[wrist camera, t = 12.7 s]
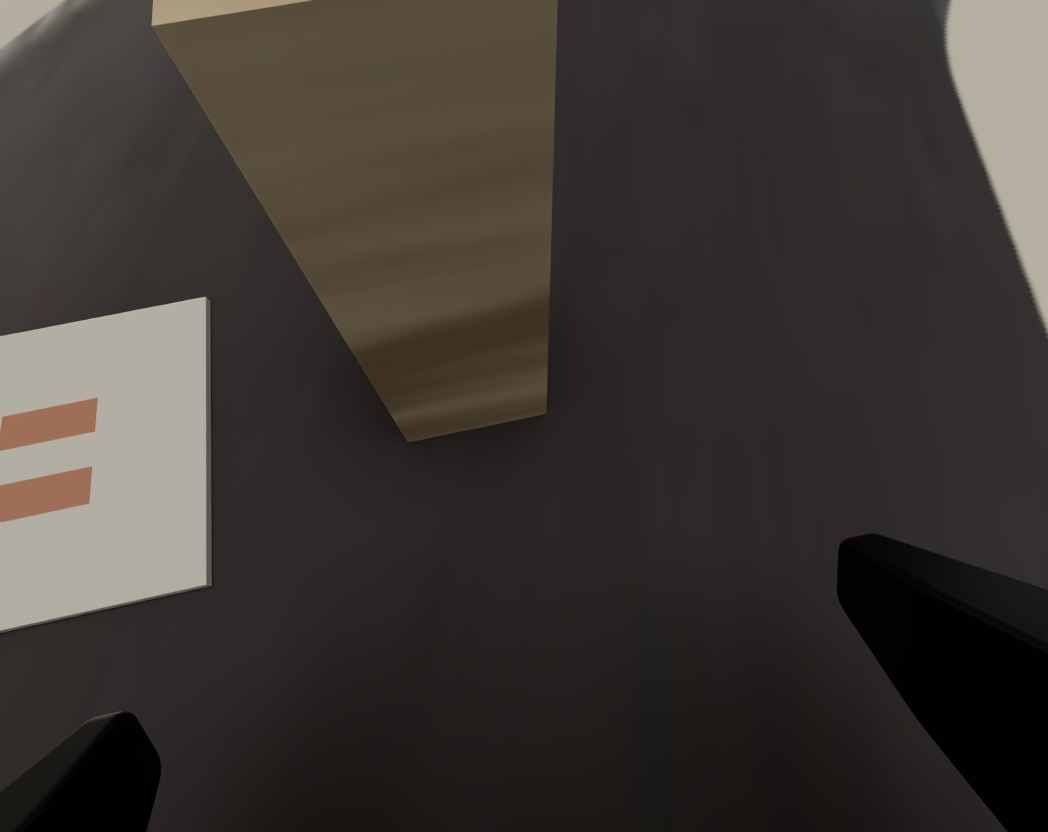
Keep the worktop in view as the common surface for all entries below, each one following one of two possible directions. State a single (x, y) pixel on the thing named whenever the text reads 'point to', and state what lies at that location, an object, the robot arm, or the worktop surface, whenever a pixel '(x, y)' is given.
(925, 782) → the worktop surface
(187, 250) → the worktop surface
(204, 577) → the card
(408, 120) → the oak block
